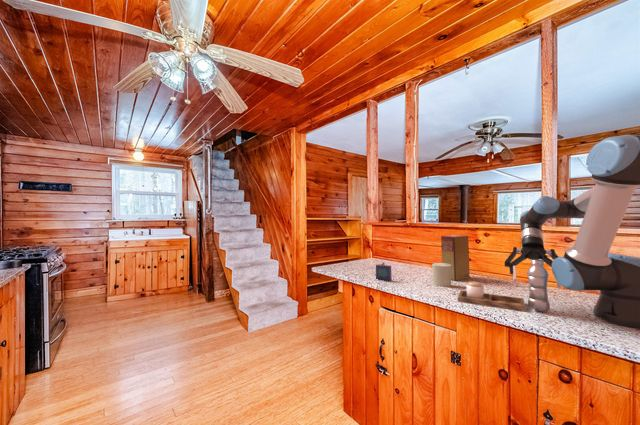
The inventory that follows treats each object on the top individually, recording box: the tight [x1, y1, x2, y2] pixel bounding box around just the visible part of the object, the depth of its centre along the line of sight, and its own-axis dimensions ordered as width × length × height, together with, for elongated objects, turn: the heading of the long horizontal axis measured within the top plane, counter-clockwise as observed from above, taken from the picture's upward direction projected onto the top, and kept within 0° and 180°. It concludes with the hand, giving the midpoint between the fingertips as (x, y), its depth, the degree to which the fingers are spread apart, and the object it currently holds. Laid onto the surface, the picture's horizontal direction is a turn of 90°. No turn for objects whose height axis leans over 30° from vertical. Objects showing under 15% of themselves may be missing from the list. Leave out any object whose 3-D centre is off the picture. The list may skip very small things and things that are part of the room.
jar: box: [466, 280, 485, 300], centre depth 115 cm, size 6×6×7 cm
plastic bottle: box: [526, 259, 551, 313], centre depth 104 cm, size 6×7×20 cm
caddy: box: [457, 289, 527, 312], centre depth 112 cm, size 23×11×3 cm, turn 56°
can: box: [431, 262, 452, 288], centre depth 140 cm, size 9×9×12 cm
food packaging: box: [440, 234, 471, 282], centre depth 156 cm, size 13×9×25 cm
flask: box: [375, 261, 393, 282], centre depth 155 cm, size 9×3×11 cm, turn 61°
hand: (536, 283), depth 104 cm, fingers open, 13 cm apart
